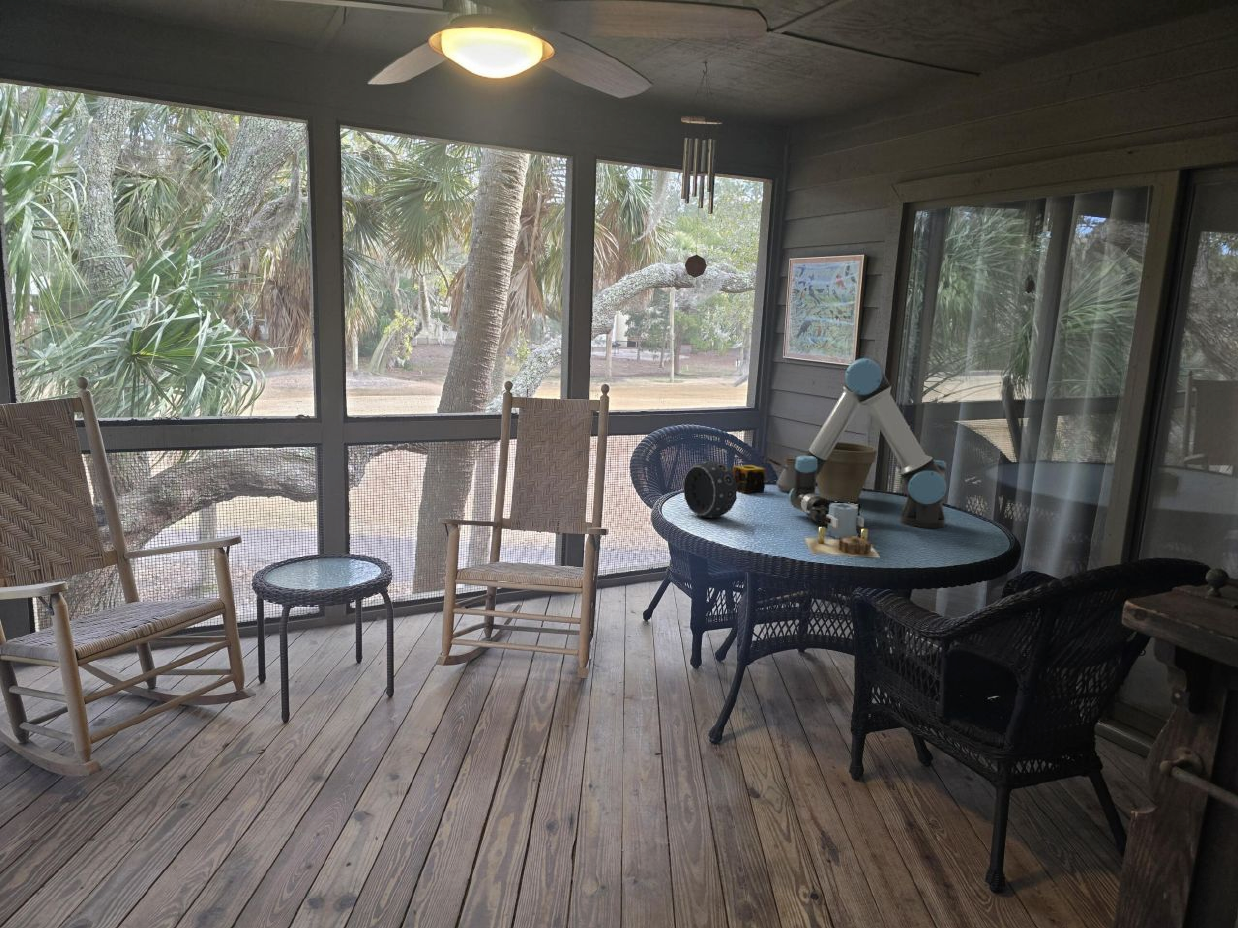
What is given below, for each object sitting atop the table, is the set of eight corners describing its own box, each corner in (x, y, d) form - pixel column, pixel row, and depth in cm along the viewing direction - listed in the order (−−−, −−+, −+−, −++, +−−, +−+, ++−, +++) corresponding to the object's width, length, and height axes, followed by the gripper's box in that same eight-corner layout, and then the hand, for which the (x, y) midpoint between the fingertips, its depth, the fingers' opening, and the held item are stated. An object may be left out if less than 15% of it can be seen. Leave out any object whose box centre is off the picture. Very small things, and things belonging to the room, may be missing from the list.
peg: (824, 542, 251) (825, 526, 250) (824, 544, 249) (826, 528, 248) (817, 541, 251) (818, 526, 250) (818, 543, 249) (819, 528, 248)
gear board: (868, 546, 254) (868, 541, 254) (879, 562, 237) (880, 557, 237) (804, 542, 256) (804, 537, 256) (810, 557, 239) (811, 553, 239)
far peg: (865, 544, 251) (867, 528, 250) (867, 545, 249) (868, 530, 248) (859, 543, 251) (860, 528, 250) (860, 545, 249) (862, 529, 248)
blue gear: (847, 534, 268) (849, 501, 266) (863, 542, 258) (866, 509, 256) (818, 535, 265) (821, 502, 263) (834, 543, 255) (837, 510, 253)
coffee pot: (789, 486, 341) (791, 452, 338) (809, 492, 332) (812, 456, 329) (753, 491, 329) (755, 455, 326) (773, 497, 320) (776, 460, 317)
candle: (744, 494, 323) (746, 470, 321) (730, 489, 332) (731, 465, 330) (765, 492, 328) (766, 468, 326) (750, 487, 336) (751, 464, 335)
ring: (714, 525, 273) (718, 467, 270) (679, 512, 290) (681, 457, 286) (738, 521, 279) (742, 465, 275) (702, 509, 296) (705, 455, 292)
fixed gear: (867, 547, 247) (868, 534, 246) (873, 555, 238) (874, 542, 237) (836, 545, 248) (837, 532, 247) (841, 553, 239) (842, 540, 238)
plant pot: (869, 495, 329) (874, 443, 325) (874, 508, 306) (879, 452, 302) (807, 490, 335) (811, 439, 331) (807, 503, 311) (811, 448, 307)
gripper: (843, 516, 281) (878, 533, 259) (787, 517, 276) (818, 535, 254) (845, 495, 279) (880, 510, 258) (788, 496, 274) (820, 512, 253)
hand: (849, 523), depth 256 cm, fingers closed on blue gear, 8 cm apart
